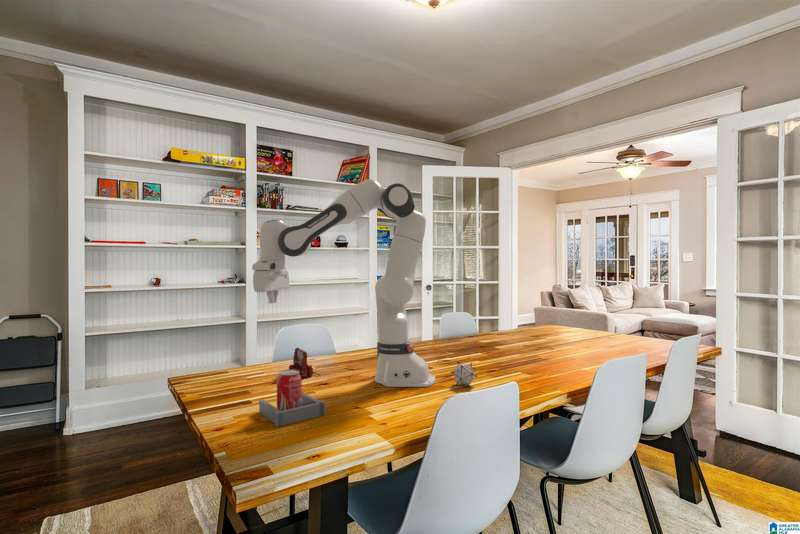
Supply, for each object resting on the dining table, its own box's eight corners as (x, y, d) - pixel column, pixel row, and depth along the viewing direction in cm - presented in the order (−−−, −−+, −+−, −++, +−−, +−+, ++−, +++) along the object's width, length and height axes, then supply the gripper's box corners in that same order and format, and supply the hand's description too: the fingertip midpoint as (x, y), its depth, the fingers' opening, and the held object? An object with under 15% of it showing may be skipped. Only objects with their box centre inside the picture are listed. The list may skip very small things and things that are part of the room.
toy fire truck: (304, 370, 175) (303, 345, 175) (314, 377, 165) (314, 350, 165) (287, 373, 172) (286, 347, 172) (296, 380, 161) (296, 352, 161)
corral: (257, 412, 127) (257, 400, 127) (303, 402, 136) (303, 391, 136) (276, 426, 116) (276, 413, 116) (325, 414, 125) (325, 402, 125)
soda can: (278, 409, 129) (278, 369, 129) (303, 408, 130) (302, 368, 130) (275, 418, 122) (274, 375, 122) (300, 416, 123) (300, 374, 123)
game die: (468, 394, 155) (485, 372, 155) (462, 392, 147) (479, 368, 148) (449, 379, 159) (465, 357, 160) (442, 376, 152) (459, 353, 152)
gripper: (278, 264, 168) (278, 300, 168) (249, 265, 148) (249, 305, 148) (293, 264, 166) (293, 300, 167) (266, 265, 146) (266, 306, 147)
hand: (272, 303), depth 157 cm, fingers closed
